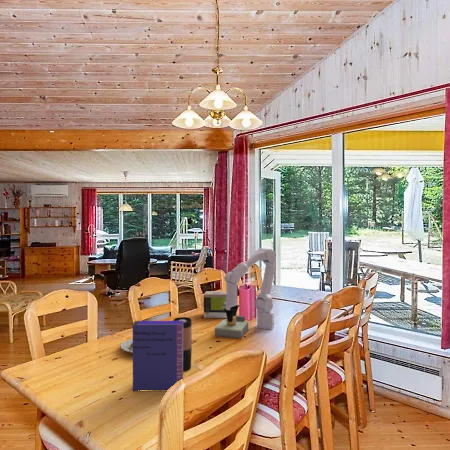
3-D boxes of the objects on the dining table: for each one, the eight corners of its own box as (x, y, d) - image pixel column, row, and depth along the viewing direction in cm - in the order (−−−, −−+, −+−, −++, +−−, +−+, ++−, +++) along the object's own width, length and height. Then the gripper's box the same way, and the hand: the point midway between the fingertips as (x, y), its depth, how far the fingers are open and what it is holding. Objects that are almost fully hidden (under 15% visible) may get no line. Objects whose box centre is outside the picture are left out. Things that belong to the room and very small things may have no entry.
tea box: (229, 314, 226) (229, 291, 226) (227, 318, 216) (227, 294, 216) (205, 313, 228) (205, 290, 227) (203, 318, 218) (203, 293, 217)
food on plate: (110, 349, 167) (110, 335, 167) (154, 336, 185) (154, 323, 185) (140, 364, 150) (140, 349, 150) (186, 348, 168) (186, 335, 168)
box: (248, 329, 196) (248, 322, 196) (240, 338, 181) (241, 332, 181) (224, 326, 201) (224, 320, 201) (214, 335, 185) (214, 329, 185)
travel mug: (182, 362, 152) (182, 315, 151) (195, 367, 147) (195, 319, 146) (168, 368, 146) (168, 320, 145) (181, 373, 141) (182, 323, 140)
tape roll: (237, 323, 191) (237, 316, 191) (234, 326, 187) (234, 318, 187) (228, 322, 193) (228, 315, 193) (225, 325, 188) (225, 317, 188)
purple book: (183, 384, 132) (183, 320, 132) (182, 390, 127) (182, 324, 127) (135, 384, 132) (135, 320, 131) (132, 391, 127) (132, 324, 126)
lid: (248, 322, 196) (248, 316, 196) (241, 331, 181) (241, 325, 181) (224, 320, 200) (224, 314, 200) (214, 329, 185) (214, 322, 185)
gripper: (228, 291, 197) (228, 315, 198) (220, 297, 184) (220, 323, 184) (240, 292, 195) (240, 317, 196) (233, 298, 182) (233, 324, 182)
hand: (231, 320), depth 190 cm, fingers open, 5 cm apart
